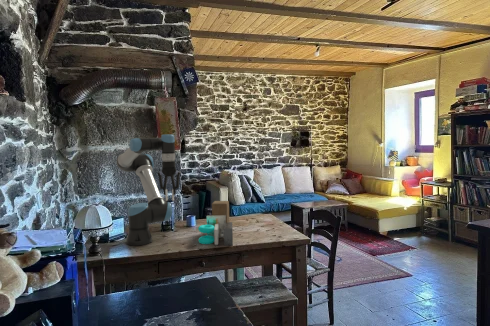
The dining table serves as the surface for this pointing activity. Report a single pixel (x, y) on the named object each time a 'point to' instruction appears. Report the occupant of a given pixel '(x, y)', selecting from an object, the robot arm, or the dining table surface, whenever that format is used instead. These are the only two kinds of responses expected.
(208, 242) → the donuts
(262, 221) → the dining table surface
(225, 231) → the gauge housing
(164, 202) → the robot arm
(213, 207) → the wooden block
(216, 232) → the gauge plate
